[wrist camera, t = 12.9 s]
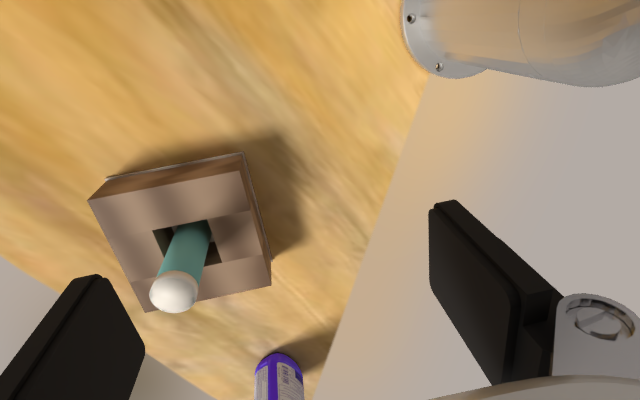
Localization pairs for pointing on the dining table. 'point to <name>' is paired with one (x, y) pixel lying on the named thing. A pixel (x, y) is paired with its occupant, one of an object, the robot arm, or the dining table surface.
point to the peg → (182, 268)
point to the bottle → (278, 379)
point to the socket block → (184, 207)
